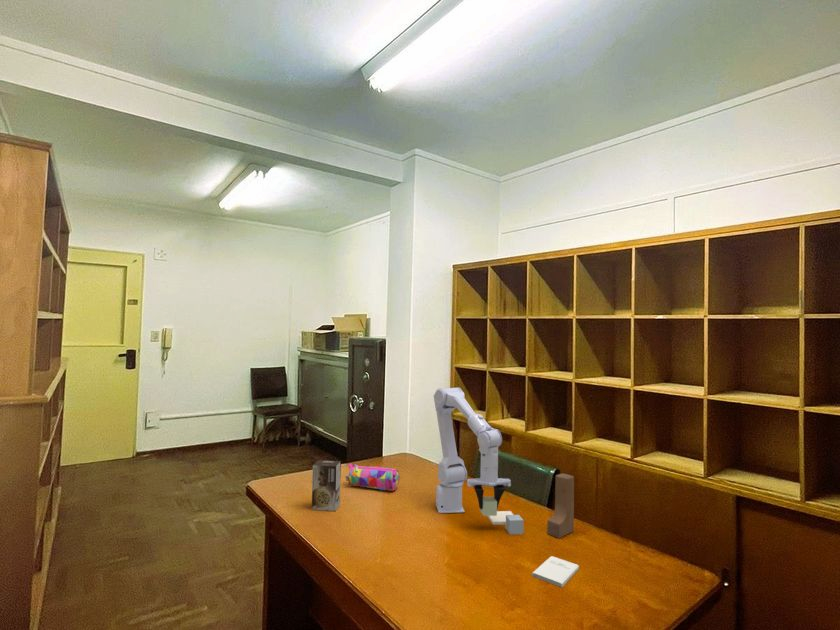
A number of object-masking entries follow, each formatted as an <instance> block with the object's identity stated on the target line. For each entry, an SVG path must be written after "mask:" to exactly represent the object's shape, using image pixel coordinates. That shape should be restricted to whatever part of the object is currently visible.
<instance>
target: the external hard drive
mask: <svg viewBox="0 0 840 630" xmlns="http://www.w3.org/2000/svg"><path fill="white" fill-rule="evenodd" d="M578 570H580V566H579V564H576V563H573V562H570V561H568V560H565V559H562V558H560V557H556V556H552V555H551V556H549V558H547V559H546V560H545V561H544V562H542V563H541V564H540V565H539V566H538V567H537V568H536V569H535V570H534V571H533V572H532V573H531V577H533V578H535V579H539V580H541V581H544V582H546V583H549V584H552V585H554V586H557V587H559V588H563V587H564V586H565V585H566V584H567V582H569V580H571V579H572V577H573V576H574V575H575V574H576V573H577V572H578Z"/></svg>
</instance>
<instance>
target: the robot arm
mask: <svg viewBox="0 0 840 630" xmlns="http://www.w3.org/2000/svg"><path fill="white" fill-rule="evenodd" d="M465 397H466V396H465V392H464V391H463V390H462V388H461V387H457V386H456V387H448V388H447V387H446V388H444V387H443V388H437V389H436V390H435V393H434V395H433V400H434V401H433V402H434V407H435V412H436V417H437V424H438V430H439V437H440V444H441V451H442V458H441V459H442V460H441V461H439V463H438V465H437V467H438V471H437V472H438V473H437V479H438V481H439V482H440V484H436V486H435V487H436V489H435V507H436V510H437V511H438V513H440V514H446V513H447V514H448V513H449V514H451V513H453V514H454V513H465V509H464V507H463V485H464V484H465V483H464V482H465V481H466V485H467V487H468V488H471V487H473V489H474V491H475V494H476V497H477V500H478V507H479V510H480V509H483V497H484V492H485V491H484V489H483V487H493V497H494V498H495V500H496V501H497V510H498V509H499V504H500V502H501V498H502V496H503V494H504V493H505V490H506V489H505V487H511V486H512V482H511V481H512V480H511V479H510V478H502V477H500V478H499V476H498V475H499V474H498V472H499V447H500V446H501V445H502V443H503V436H502V433H501V432H500V430H499V429H496V428H493V427H492V426H491V425H490V424H488V422H487V421H486V420H485V419H484V416H483V415H482V414H480V413H475V411H474V410H473V408H472V407H471V406H470V404H469V403H468V401H467V400H466V398H465ZM455 409H457V410H458V411H459V412H460V413H461V414H462V416H464V418H466V420H467V426H468V427H469V428H470V430H471V431H472V432H473V434H474V435H475V436H476V437H477V444H478V446H479V447H478V448H479V452H480V477H477V478H476V477H475V478H468V471H467V469H466V466H465V462H464V460H463V458H461V457H459V456H458V451H457V445H456V438H455V431H454V426H453V425H454V424H453V419H452V413H453V411H454V410H455Z"/></svg>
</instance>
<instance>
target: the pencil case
mask: <svg viewBox="0 0 840 630" xmlns="http://www.w3.org/2000/svg"><path fill="white" fill-rule="evenodd" d="M347 467H348V468H349V472H348V475H347V476H346V475H345V481H346V482H348V484H349V486H350V485H353V486H352V487H354V486H355V487H358V486H360V488H364V487H367V488H368V489H374V490H381V491H387V490H388V492H391V491H393V492H394V490H395V491H396V490H397V488H398V486H399V483H400V480H401V478H400V472H399V470H398V469H397V468H389V467H388V468H387V467H381V466H363V465H360V466H359V465H358V464H352V463H351V462H350V463H349V464H347ZM367 488H366V489H367Z"/></svg>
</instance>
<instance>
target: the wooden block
mask: <svg viewBox="0 0 840 630" xmlns="http://www.w3.org/2000/svg"><path fill="white" fill-rule="evenodd" d="M554 489H555V490H554V491H555V493H554V495H555V497H554V498H555V500H554V501H555V503H554V505H555V506H554V510H553V511H554V512H553V514H552V516H551V517H549V518H548V519H547V524H546V525H547V528H546V530H547V531H546V532H547V534H548V535H551V536H552V537H555V538H557V539H560V538H562V537H564V536H565V537H566V536H567V535H568V534H570V533H573V532H574V531H575V529H574V525H575V522H574V521H575V520H574V518H575V477H574V475H571V474H567V473H559V474H556V475H555V488H554Z"/></svg>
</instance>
